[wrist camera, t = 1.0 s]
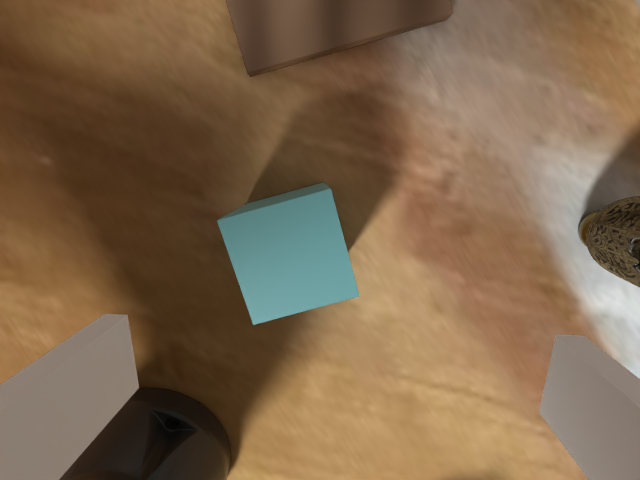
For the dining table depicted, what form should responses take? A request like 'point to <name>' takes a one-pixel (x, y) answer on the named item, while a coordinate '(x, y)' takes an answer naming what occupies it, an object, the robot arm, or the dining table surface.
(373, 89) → the dining table surface
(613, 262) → the cup
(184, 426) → the robot arm
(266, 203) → the teal toy cube
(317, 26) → the peg base
